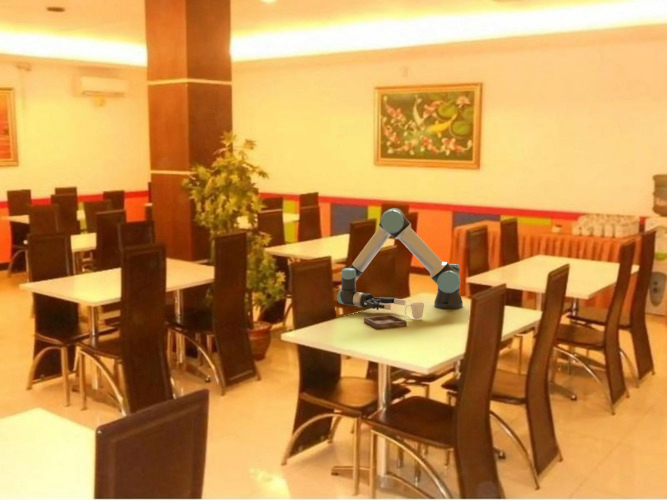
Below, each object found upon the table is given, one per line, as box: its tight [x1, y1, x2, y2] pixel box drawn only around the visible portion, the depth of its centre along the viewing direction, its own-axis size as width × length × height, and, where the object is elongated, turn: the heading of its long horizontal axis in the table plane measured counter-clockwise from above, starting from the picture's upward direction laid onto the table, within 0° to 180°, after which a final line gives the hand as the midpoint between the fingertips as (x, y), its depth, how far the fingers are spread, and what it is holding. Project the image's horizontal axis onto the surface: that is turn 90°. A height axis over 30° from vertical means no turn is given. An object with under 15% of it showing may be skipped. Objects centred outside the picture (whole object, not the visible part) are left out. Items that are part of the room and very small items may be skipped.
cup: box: [404, 301, 425, 321], centre depth 353 cm, size 7×10×8 cm
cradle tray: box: [363, 314, 407, 330], centre depth 343 cm, size 15×15×2 cm
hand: (397, 304), depth 359 cm, fingers open, 13 cm apart
